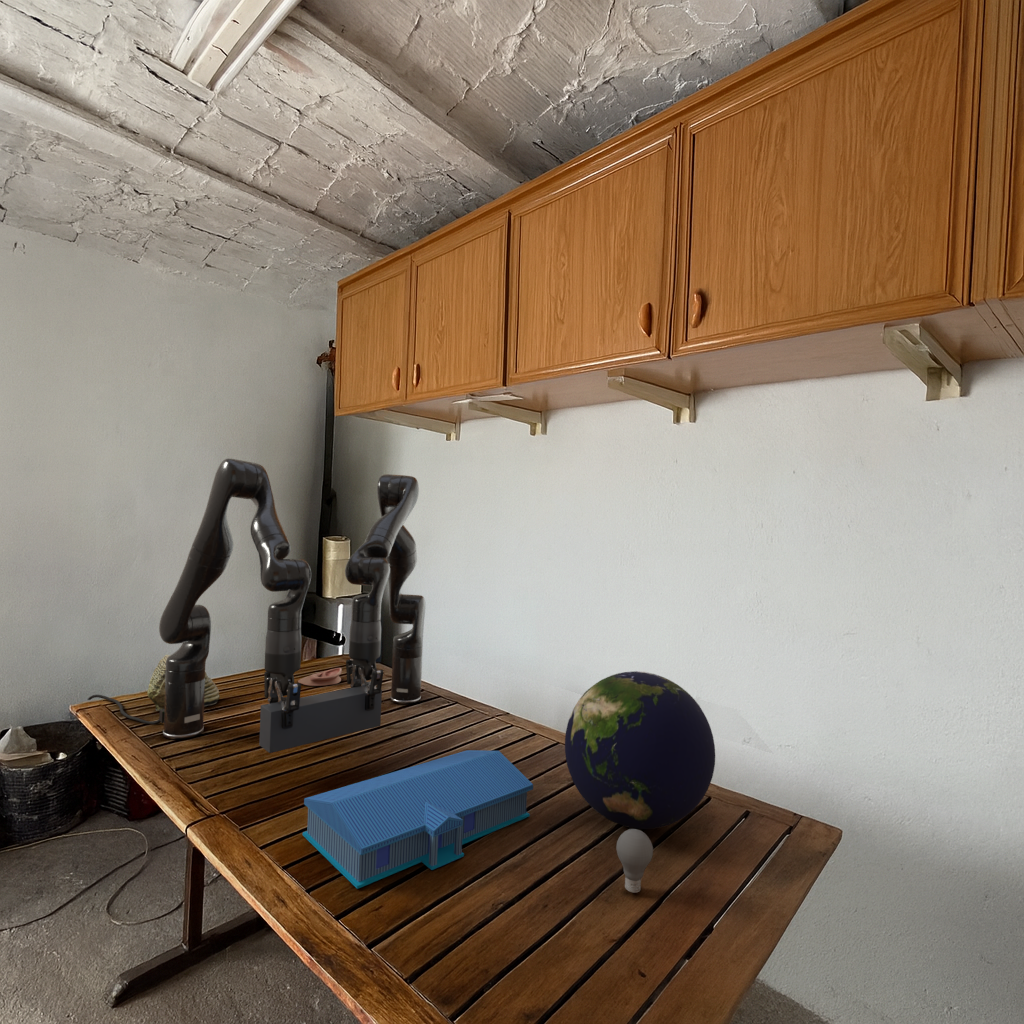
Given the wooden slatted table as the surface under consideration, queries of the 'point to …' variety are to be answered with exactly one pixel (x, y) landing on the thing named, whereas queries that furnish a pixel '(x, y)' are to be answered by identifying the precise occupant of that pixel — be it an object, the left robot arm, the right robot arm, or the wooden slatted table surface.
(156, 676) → the fossil
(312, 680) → the anatomical model
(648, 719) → the globe
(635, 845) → the light bulb
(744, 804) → the wooden slatted table surface
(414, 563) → the right robot arm
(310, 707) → the bar
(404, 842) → the model building
